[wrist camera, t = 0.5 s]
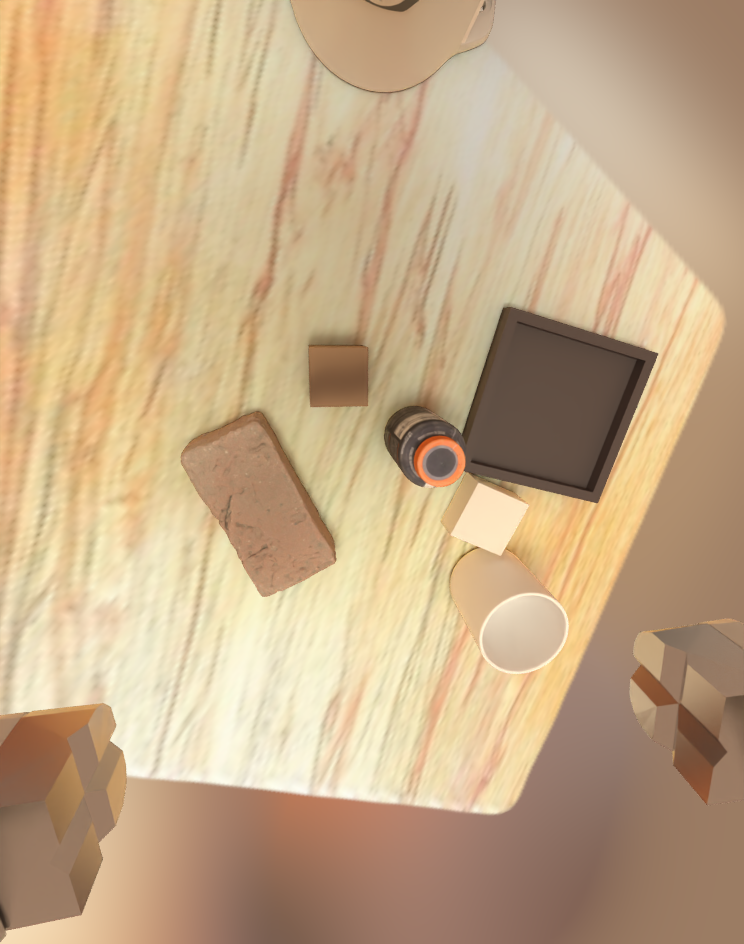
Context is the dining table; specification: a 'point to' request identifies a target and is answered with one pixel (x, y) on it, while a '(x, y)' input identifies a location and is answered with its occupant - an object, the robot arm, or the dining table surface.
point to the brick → (259, 503)
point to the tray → (553, 405)
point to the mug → (508, 611)
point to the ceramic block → (484, 514)
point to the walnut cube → (338, 375)
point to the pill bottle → (425, 447)
